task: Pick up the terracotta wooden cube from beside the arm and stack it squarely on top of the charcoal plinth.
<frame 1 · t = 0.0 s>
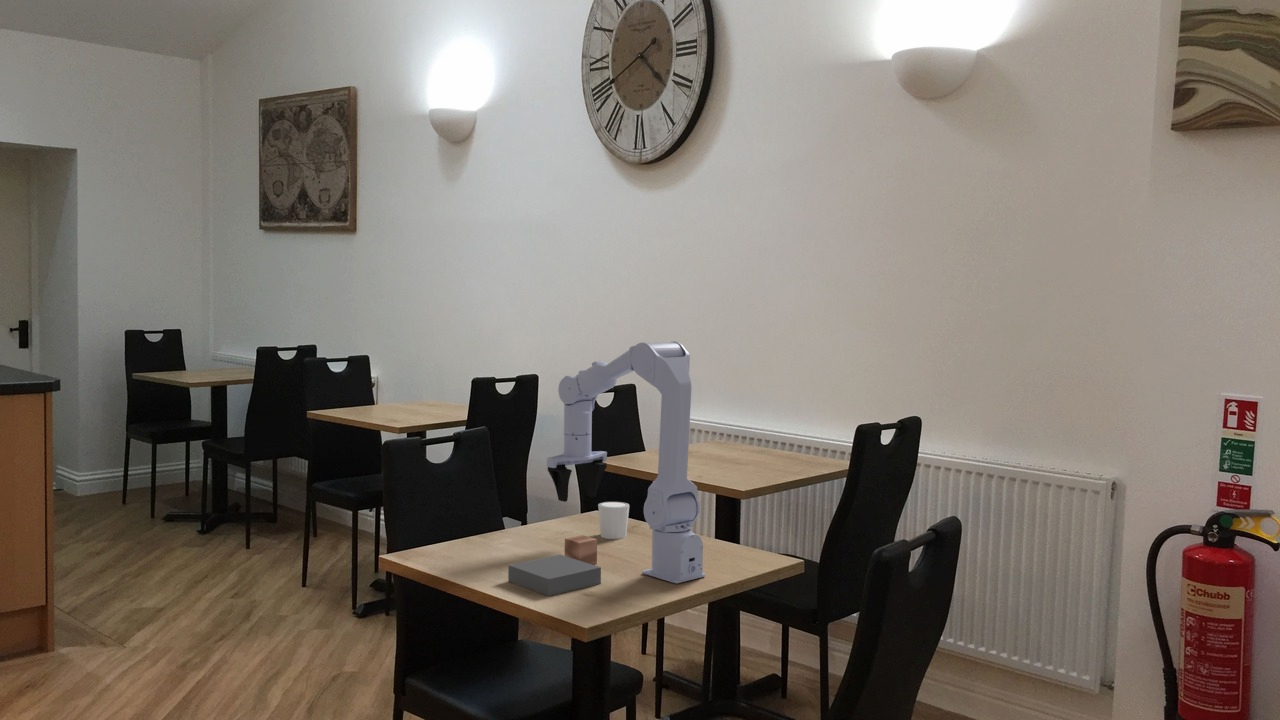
hand: (577, 498, 215), 10 cm above the table, fingers open, 7 cm apart
terracotta cube: (580, 564, 202), on the table
charcoal plinth: (554, 582, 189), on the table
white tapered cylinder: (613, 536, 225), on the table
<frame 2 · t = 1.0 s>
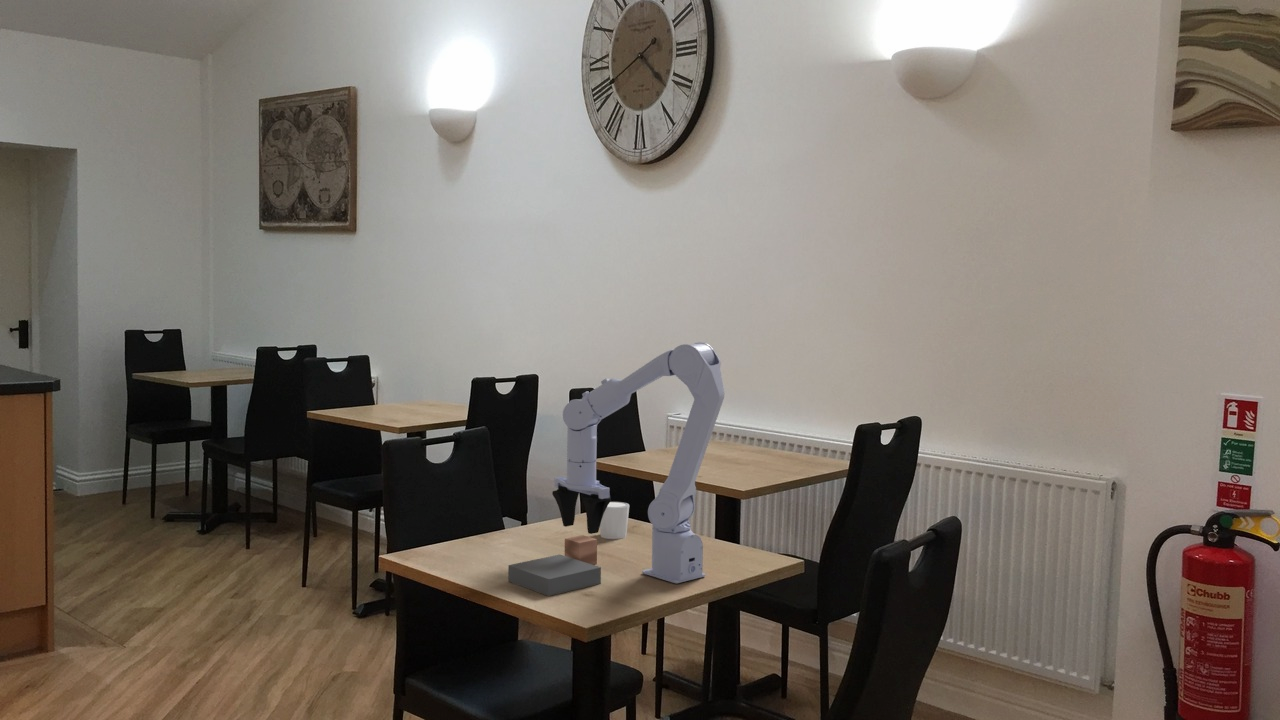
hand: (580, 529, 202), 7 cm above the table, fingers open, 7 cm apart
nothing on the table moved.
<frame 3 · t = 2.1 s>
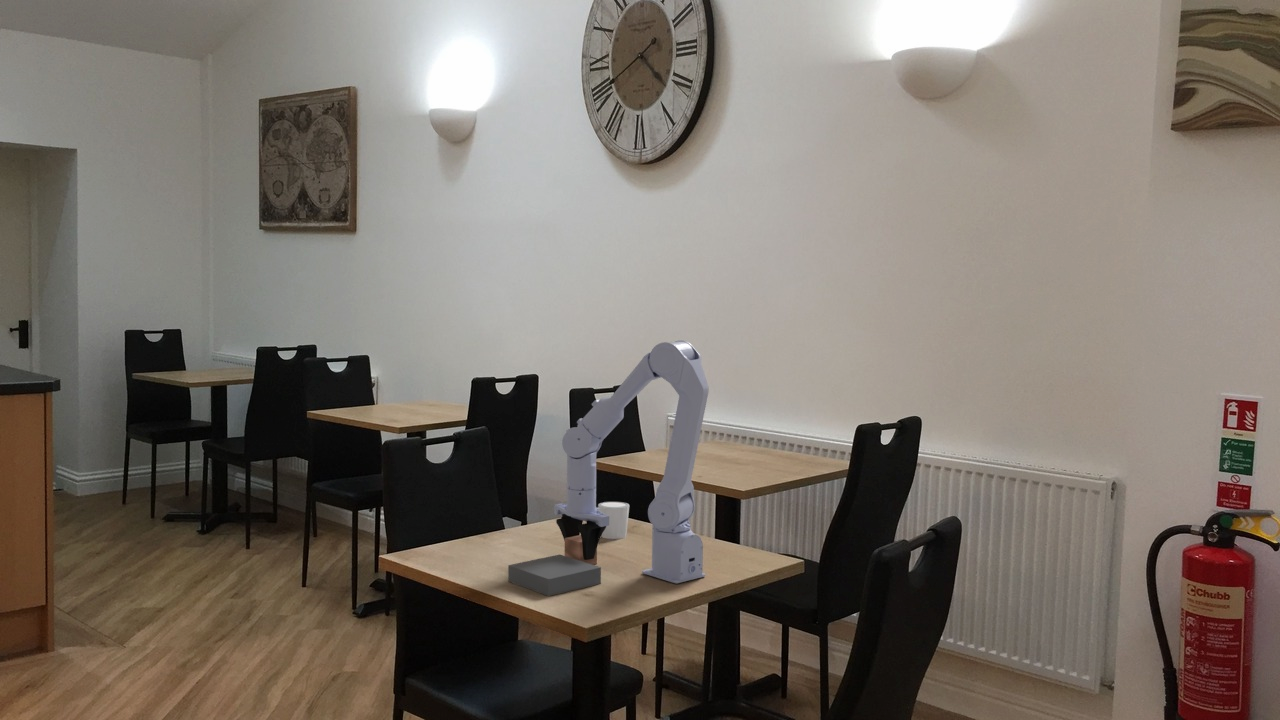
hand: (580, 556, 202), 1 cm above the table, fingers closed on terracotta cube, 4 cm apart
terracotta cube: (580, 563, 202), on the table, touching gripper
everything else where it was.
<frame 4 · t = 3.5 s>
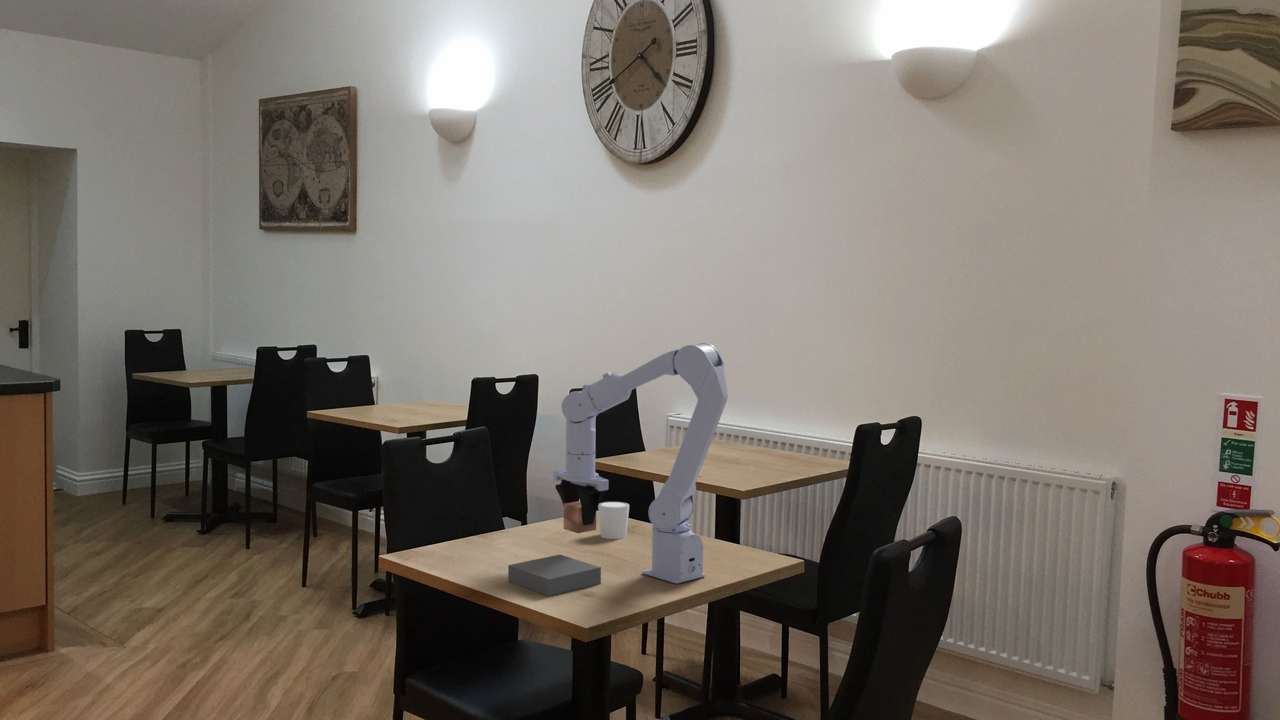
hand: (579, 521, 201), 8 cm above the table, fingers closed on terracotta cube, 4 cm apart
terracotta cube: (579, 529, 201), point 7 cm above the table, touching gripper
everything else where it was.
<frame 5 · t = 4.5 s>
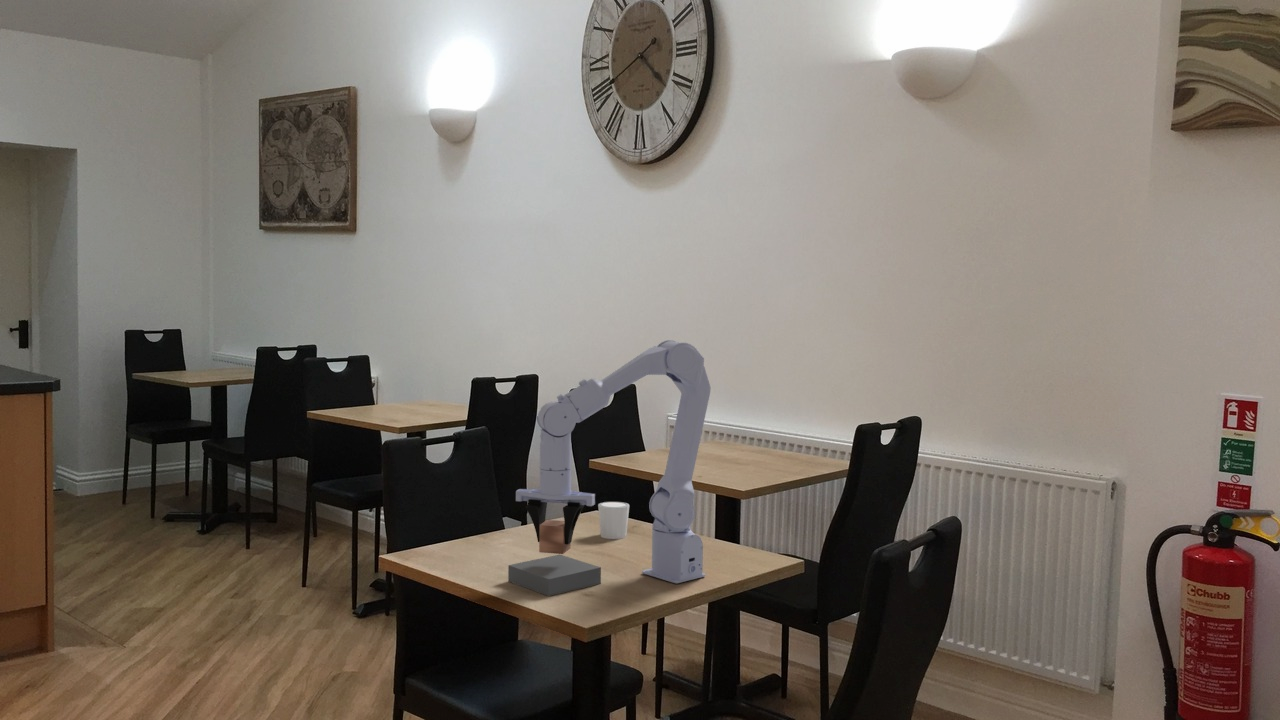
hand: (554, 542, 188), 7 cm above the table, fingers closed on terracotta cube, 4 cm apart
terracotta cube: (555, 550, 189), point 6 cm above the table, touching gripper
everything else where it was.
when the fingers open (6 cm above the table, at t = 5.2 s): terracotta cube drops 1 cm, resting on charcoal plinth.
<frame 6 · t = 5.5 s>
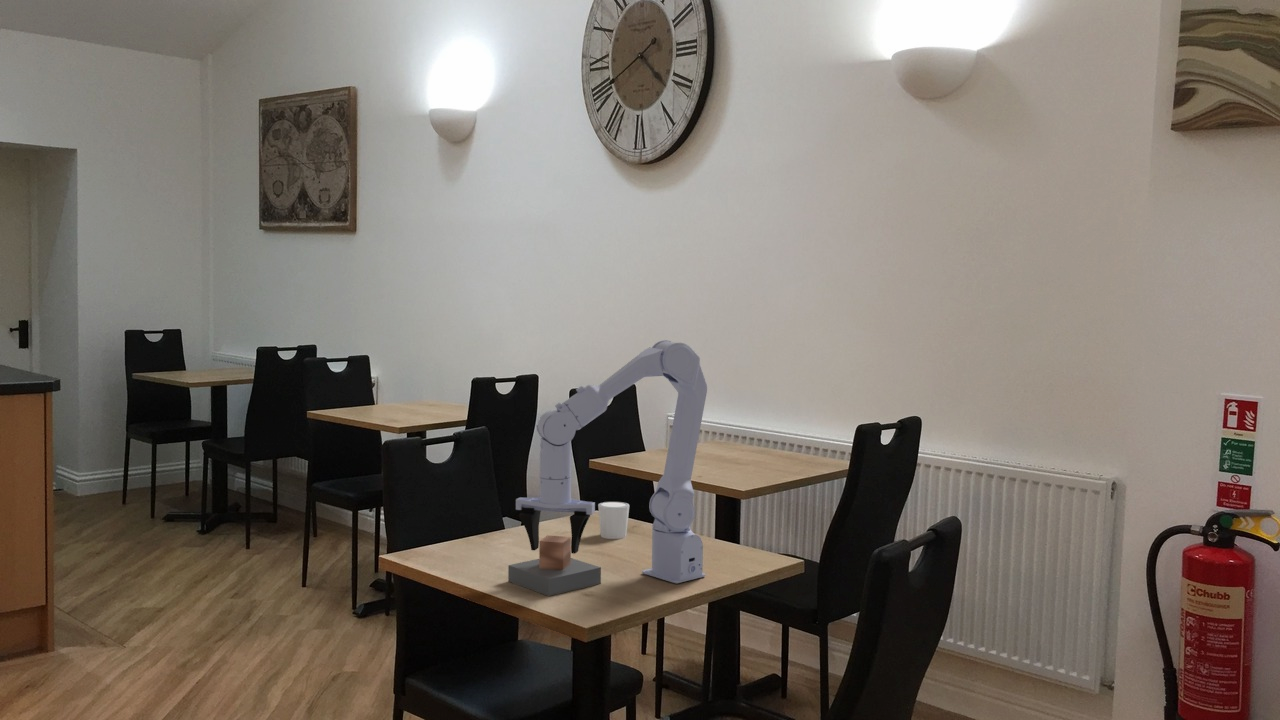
hand: (554, 550, 188), 6 cm above the table, fingers open, 7 cm apart
terracotta cube: (555, 565, 189), point 3 cm above the table, touching charcoal plinth
everything else where it was.
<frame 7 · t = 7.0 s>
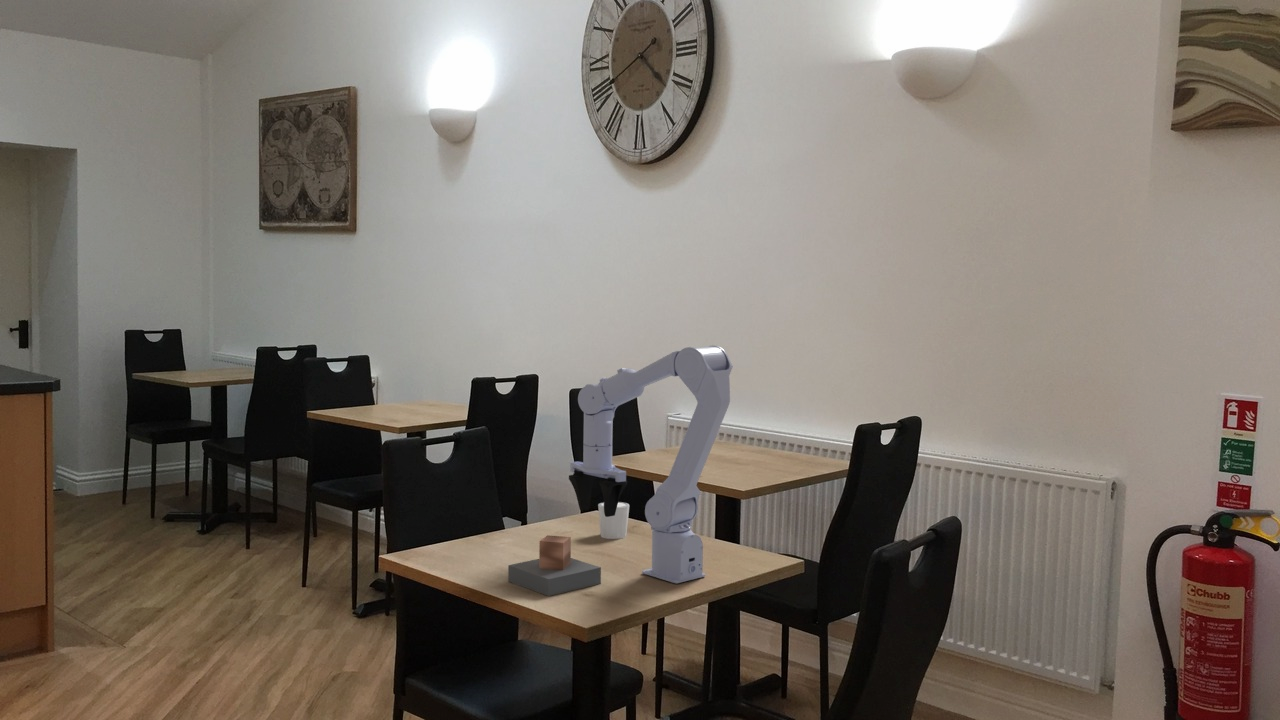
hand: (597, 512, 205), 9 cm above the table, fingers open, 7 cm apart
nothing on the table moved.
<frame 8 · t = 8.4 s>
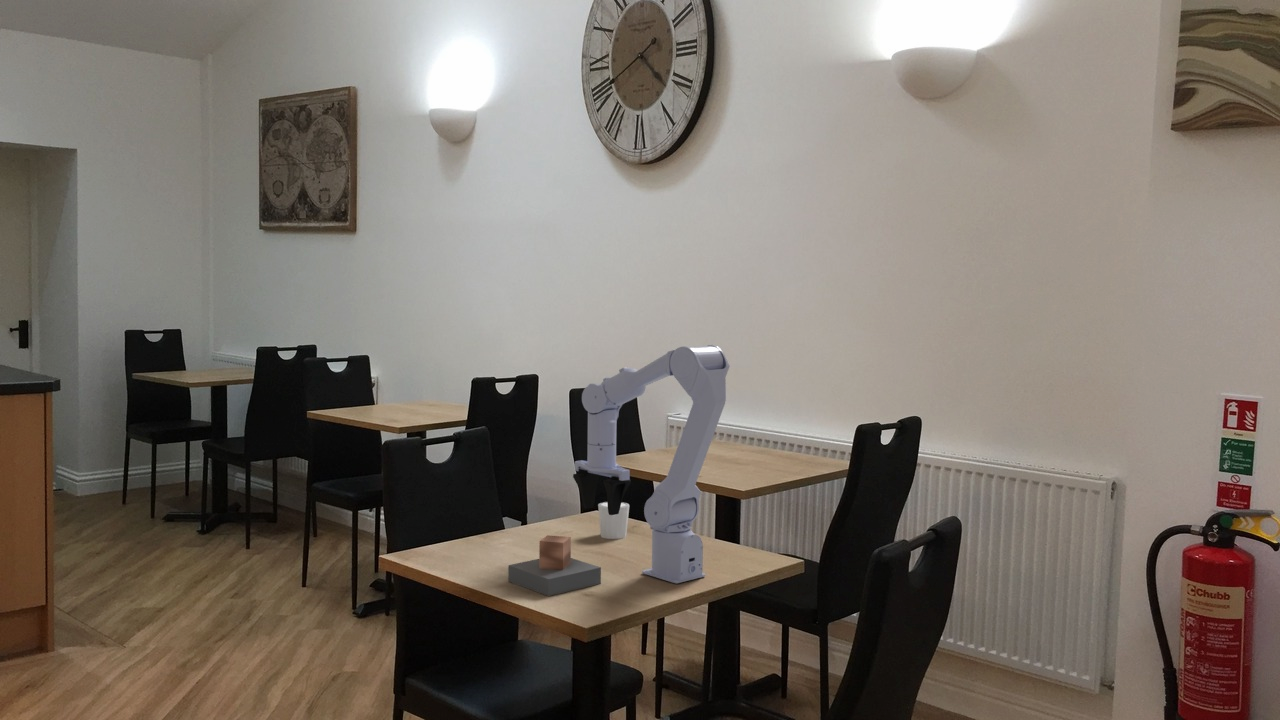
hand: (601, 511, 206), 9 cm above the table, fingers open, 7 cm apart
nothing on the table moved.
at the end: terracotta cube 0.2 cm off-centre on the charcoal plinth, point 3.0 cm above the charcoal plinth's base; terracotta cube tilted 0°; the gripper is holding nothing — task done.
